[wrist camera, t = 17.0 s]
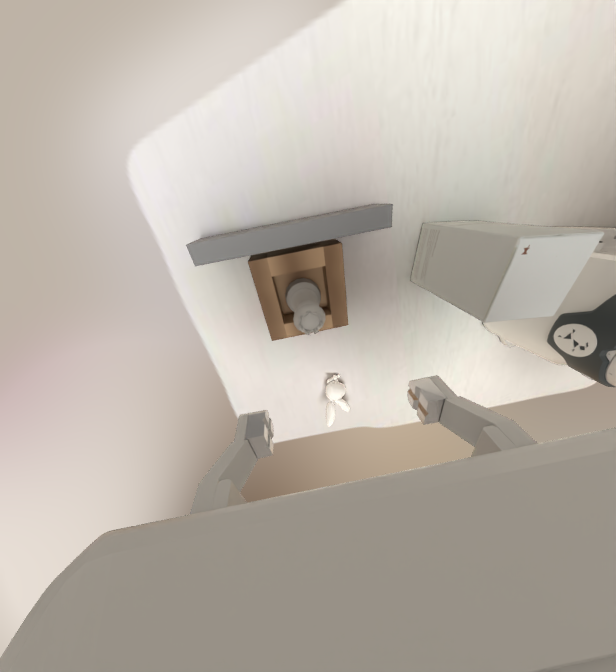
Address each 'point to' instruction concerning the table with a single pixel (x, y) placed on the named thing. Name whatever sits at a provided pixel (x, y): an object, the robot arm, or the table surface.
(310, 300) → the rook chess piece
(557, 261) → the supplement box
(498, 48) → the table surface
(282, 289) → the socket block
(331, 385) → the rabbit figurine
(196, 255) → the backstop board
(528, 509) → the robot arm
